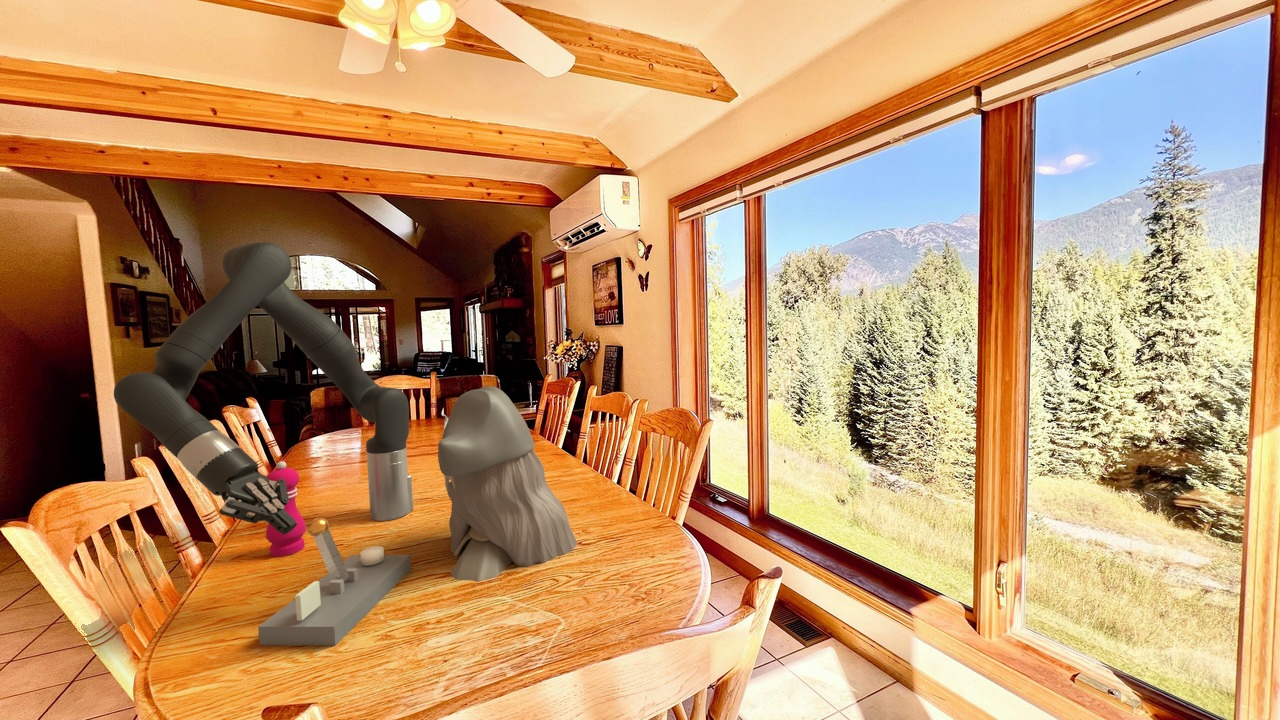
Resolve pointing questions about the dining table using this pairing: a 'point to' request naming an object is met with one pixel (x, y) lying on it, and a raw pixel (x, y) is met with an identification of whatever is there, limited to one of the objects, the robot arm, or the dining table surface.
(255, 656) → the dining table surface
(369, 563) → the push button
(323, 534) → the toggle lever
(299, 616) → the paddle switch
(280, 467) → the pepper mill
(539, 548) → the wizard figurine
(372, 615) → the dining table surface
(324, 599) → the control panel
